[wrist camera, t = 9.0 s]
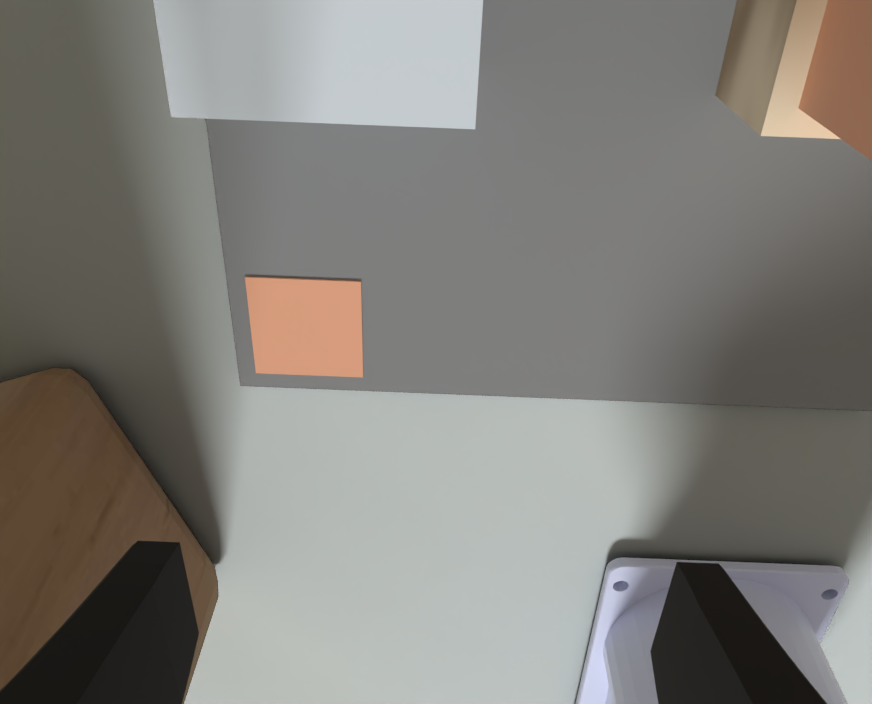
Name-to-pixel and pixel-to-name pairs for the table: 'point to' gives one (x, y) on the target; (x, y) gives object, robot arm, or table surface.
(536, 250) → the grey square mat
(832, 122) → the terracotta cube
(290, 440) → the table surface
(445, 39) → the blue-grey cube
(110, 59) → the table surface
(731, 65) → the maple block
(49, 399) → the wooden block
